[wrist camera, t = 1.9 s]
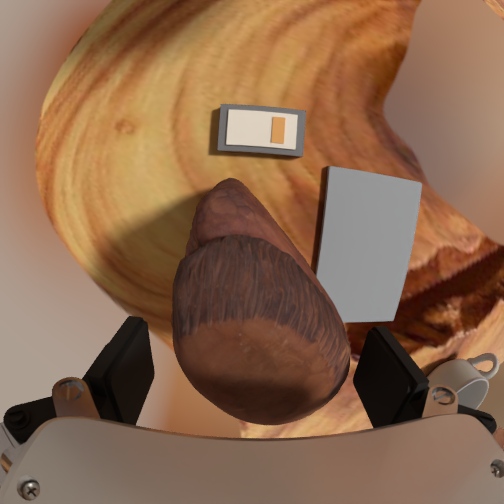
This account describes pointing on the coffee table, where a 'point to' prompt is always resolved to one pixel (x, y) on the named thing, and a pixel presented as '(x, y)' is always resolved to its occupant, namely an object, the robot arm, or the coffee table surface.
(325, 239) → the mat
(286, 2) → the coffee table surface
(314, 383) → the wooden figurine
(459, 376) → the teacup
